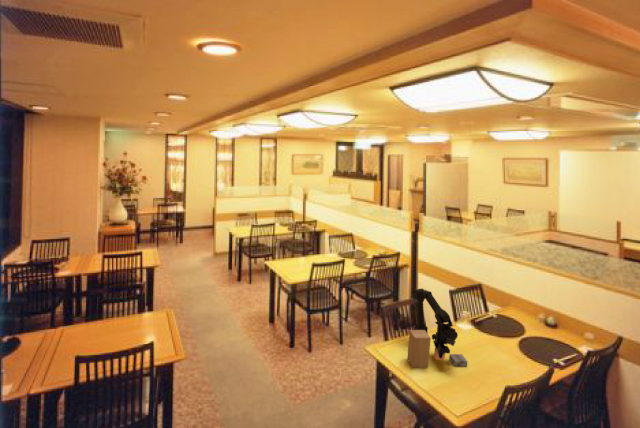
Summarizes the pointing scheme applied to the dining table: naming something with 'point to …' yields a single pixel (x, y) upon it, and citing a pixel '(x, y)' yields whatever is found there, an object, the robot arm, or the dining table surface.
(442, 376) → the dining table surface
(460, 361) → the charcoal plinth
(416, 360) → the wooden block
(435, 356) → the terracotta cube
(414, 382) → the dining table surface
